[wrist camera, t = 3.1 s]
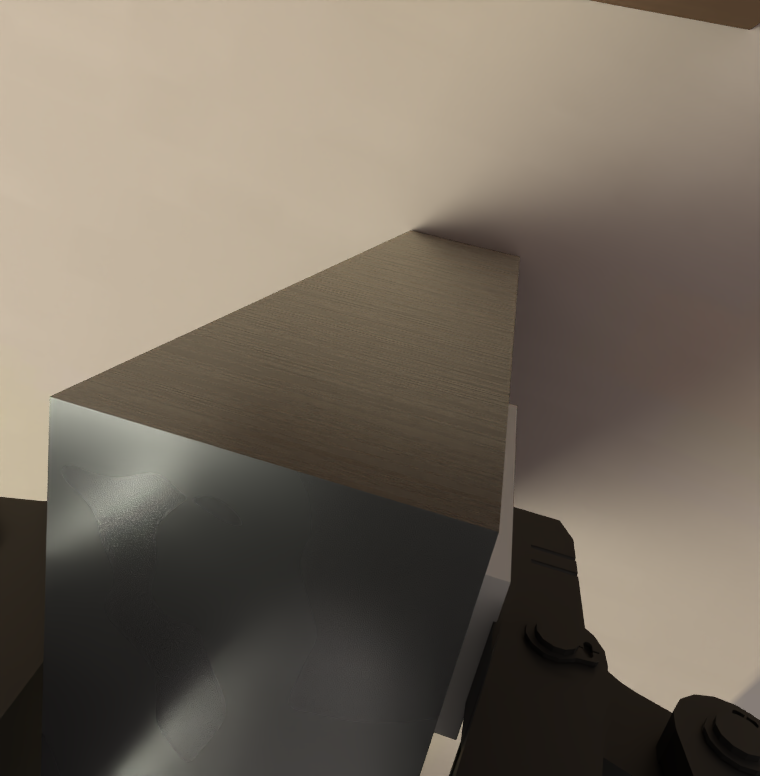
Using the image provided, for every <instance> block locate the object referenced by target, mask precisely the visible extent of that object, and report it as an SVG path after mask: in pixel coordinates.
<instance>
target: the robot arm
mask: <svg viewBox="0 0 760 776" xmlns="http://www.w3.org/2000/svg"><path fill="white" fill-rule="evenodd" d="M516 423H517V406H516V405H512V404H509V407H508V420H507V433H506V446H505V460H504V473H503V486H502V500H501V513H500V526H499V534H498V537H497V540H496V543H495V546H494V549H493V552H492V555H491V558H490V561H489V565H488V568H487V571H486V574H485V577H484V580H483V583H482V586H481V589H480V592H479V595H478V598H477V601H476V604H475V608H474V611H473V614H472V617H471V620H470V623H469V626H468V629H467V632H466V635H465V638H464V641H463V644H462V647H461V650H460V654H459V657H458V660H457V663H456V666H455V669H454V672H453V675H452V678H451V681H450V684H449V687H448V690H447V693H446V696H445V700H444V703H443V706H442V709H441V712H440V715H439V718H438V721H437V724H436V727H435V730H434V732H435V733H437V734H440V735H443V736H446V737H449V738H452V739H455V740H456V739H457V736H458V733H459V730H460V727H461V724H462V722H463V728H462V737H461V743H460V746H459V748H458V751H457V754H456V757H455V760H454V763H453V766H452V768H451V771H450V774H449V776H760V720H759V719H757V718H755V717H754V716H753V715H751V714H750V713H748V712H746V711H745V710H743V709H741V708H740V707H738V706H736V705H734V704H731V703H729V702H726V701H723V700H721V699H718V698H716V697H712V696H703V695H691V696H688V697H685V698H682V699H680V700H679V702H678V704H677V705H676V707H675V709H674V711H673V713H671V712H670V711H668V710H666V709H664V708H663V707H661V706H659V705H657V704H655V703H654V702H652V701H650V700H648V699H647V698H645V697H643V696H641V695H640V694H638V693H636V692H635V691H633V690H631V689H630V688H628V687H627V686H625V685H624V684H622V683H621V682H620V681H618V680H617V679H616V678H615V677H614V676H613V675H611V674H610V673H609V672H608V665H607V660H606V656H605V651H604V650H603V648H602V647H601V645H600V644H599V642H598V641H597V640H596V638H595V637H594V635H592V634H591V633H590V632H589V631H588V630H587V629H585V625H584V618H583V610H582V603H581V595H580V587H579V580H578V577H577V573H578V572H577V564H576V561H575V558H576V557H575V549H574V542H573V539H572V537H571V536H570V534H569V533H568V532H567V530H566V529H565V528H564V526H563V525H562V523H561V522H560V521H559V520H556V519H552V518H549V517H546V516H542V515H539V514H535V513H532V512H529V511H525V510H522V509H519V508H515V507H513V503H514V477H515V450H516ZM46 534H47V501H35V500H25V499H15V498H5V497H0V776H41V743H42V701H43V659H44V618H45V576H46Z"/></svg>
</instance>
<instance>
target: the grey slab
mask: <svg viewBox="0 0 760 776" xmlns="http://www.w3.org/2000/svg"><path fill="white" fill-rule="evenodd" d="M519 260H520V257H519V256H514V255H510V254H506V253H502V252H498V251H494V250H490V249H485V248H481V247H477V246H473V245H469V244H465V243H461V242H457V241H452V240H448V239H444V238H440V237H436V236H432V235H428V234H423V233H419V232H415V231H411V230H410V231H408V232H406V233H404V234H402V235H400V236H397V237H395V238H393V239H391V240H389V241H387V242H384V243H382V244H380V245H378V246H376V247H374V248H371V249H369V250H367V251H365V252H363V253H361V254H358V255H356V256H354V257H352V258H350V259H347V260H345V261H343V262H341V263H339V264H337V265H334V266H332V267H330V268H328V269H326V270H324V271H321V272H319V273H317V274H315V275H313V276H311V277H308V278H306V279H304V280H302V281H300V282H298V283H295V284H293V285H291V286H289V287H287V288H285V289H282V290H280V291H278V292H276V293H274V294H272V295H269V296H267V297H265V298H263V299H261V300H259V301H256V302H254V303H252V304H250V305H248V306H245V307H243V308H241V309H239V310H237V311H235V312H232V313H230V314H228V315H226V316H224V317H222V318H219V319H217V320H215V321H213V322H211V323H209V324H206V325H204V326H202V327H200V328H198V329H196V330H193V331H191V332H189V333H187V334H185V335H183V336H180V337H178V338H176V339H174V340H172V341H170V342H167V343H165V344H163V345H161V346H159V347H157V348H154V349H152V350H150V351H148V352H146V353H143V354H141V355H139V356H137V357H135V358H133V359H130V360H128V361H126V362H124V363H122V364H120V365H117V366H115V367H113V368H111V369H109V370H107V371H104V372H102V373H100V374H98V375H96V376H94V377H91V378H89V379H87V380H85V381H83V382H81V383H78V384H76V385H74V386H72V387H70V388H68V389H65V390H63V391H61V392H59V393H57V394H55V395H52V396H50V409H49V451H48V492H47V534H46V576H45V618H44V659H43V701H42V743H41V776H420V773H421V770H422V767H423V764H424V761H425V758H426V755H427V752H428V749H429V746H430V743H431V739H432V736H433V733H434V730H435V727H436V724H437V721H438V718H439V715H440V712H441V709H442V706H443V703H444V700H445V696H446V693H447V690H448V687H449V684H450V681H451V678H452V675H453V672H454V669H455V666H456V663H457V660H458V657H459V654H460V650H461V647H462V644H463V641H464V638H465V635H466V632H467V629H468V626H469V623H470V620H471V617H472V614H473V611H474V608H475V604H476V601H477V598H478V595H479V592H480V589H481V586H482V583H483V580H484V577H485V574H486V571H487V568H488V565H489V561H490V558H491V555H492V552H493V549H494V546H495V543H496V540H497V537H498V534H499V526H500V513H501V500H502V486H503V473H504V460H505V446H506V433H507V420H508V407H509V393H510V380H511V367H512V353H513V340H514V327H515V313H516V300H517V287H518V273H519Z"/></svg>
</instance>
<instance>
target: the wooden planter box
mask: <svg viewBox="0 0 760 776" xmlns="http://www.w3.org/2000/svg"><path fill="white" fill-rule="evenodd" d="M591 1H597V2H602V3H608V4H613V5H618V6H624V7H629V8H635V9H640V10H645V11H651V12H656V13H662V14H667V15H672V16H678V17H683V18H689V19H694V20H699V21H705V22H710V23H716V24H721V25H726V26H732V27H737V28H743V29H748V30H750V29H752V28H753V27H755V26H756V25H758V24H759V23H760V0H591Z"/></svg>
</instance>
